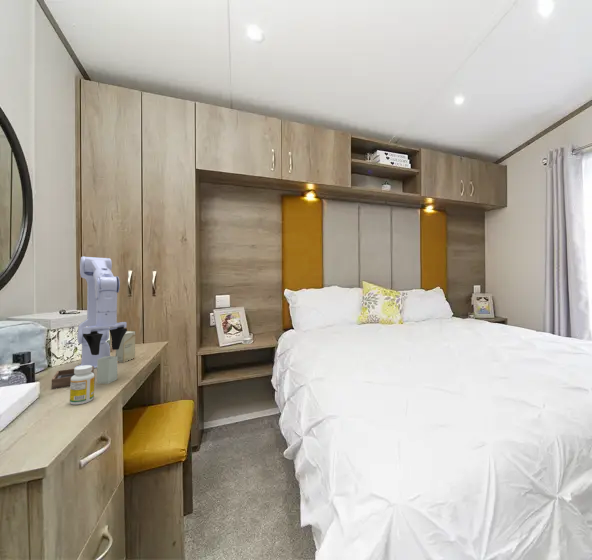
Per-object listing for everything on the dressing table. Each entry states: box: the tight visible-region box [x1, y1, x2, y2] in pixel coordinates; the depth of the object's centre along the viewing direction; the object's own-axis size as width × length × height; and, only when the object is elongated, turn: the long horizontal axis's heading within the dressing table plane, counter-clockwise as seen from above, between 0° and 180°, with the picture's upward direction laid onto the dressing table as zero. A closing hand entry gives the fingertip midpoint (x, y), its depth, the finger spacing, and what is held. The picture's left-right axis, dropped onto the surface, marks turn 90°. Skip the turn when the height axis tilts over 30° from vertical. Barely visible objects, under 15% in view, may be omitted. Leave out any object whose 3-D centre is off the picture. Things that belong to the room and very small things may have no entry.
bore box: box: [51, 366, 95, 390], centre depth 89 cm, size 10×10×3 cm
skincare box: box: [115, 330, 136, 363], centre depth 114 cm, size 6×4×12 cm
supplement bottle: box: [69, 365, 96, 406], centre depth 75 cm, size 5×5×10 cm
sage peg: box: [96, 355, 118, 385], centre depth 90 cm, size 4×4×8 cm
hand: (105, 352), depth 89 cm, fingers open, 7 cm apart
